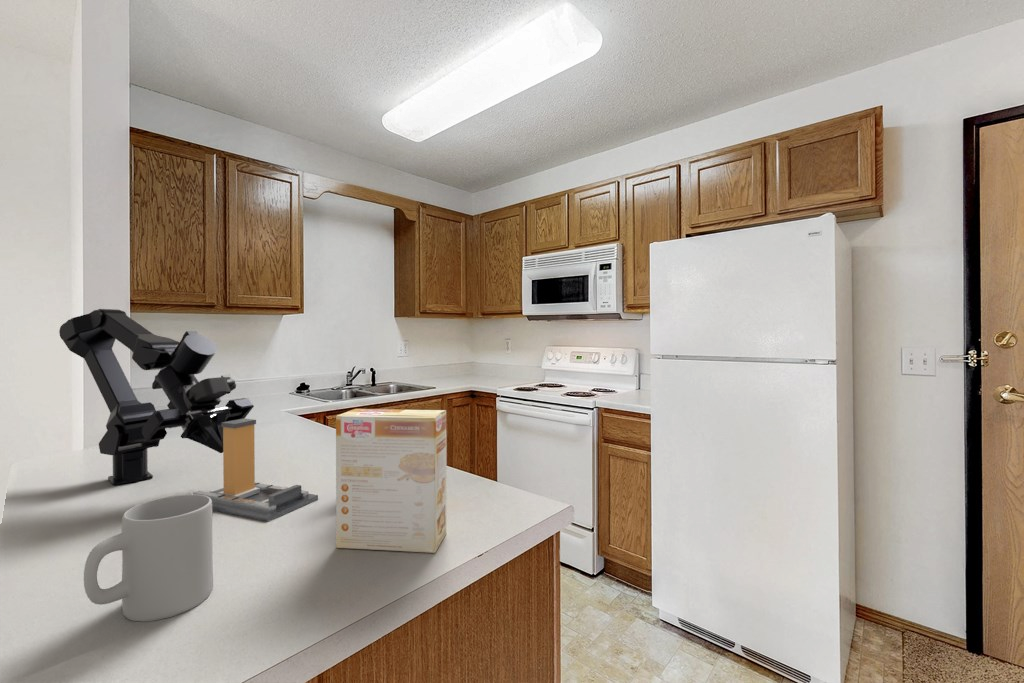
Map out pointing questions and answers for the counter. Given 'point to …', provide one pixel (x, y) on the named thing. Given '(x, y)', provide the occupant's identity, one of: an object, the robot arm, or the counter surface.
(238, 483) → the fader tab
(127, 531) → the mug
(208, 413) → the robot arm
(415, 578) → the counter surface
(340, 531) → the coffeecake box
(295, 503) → the plate
